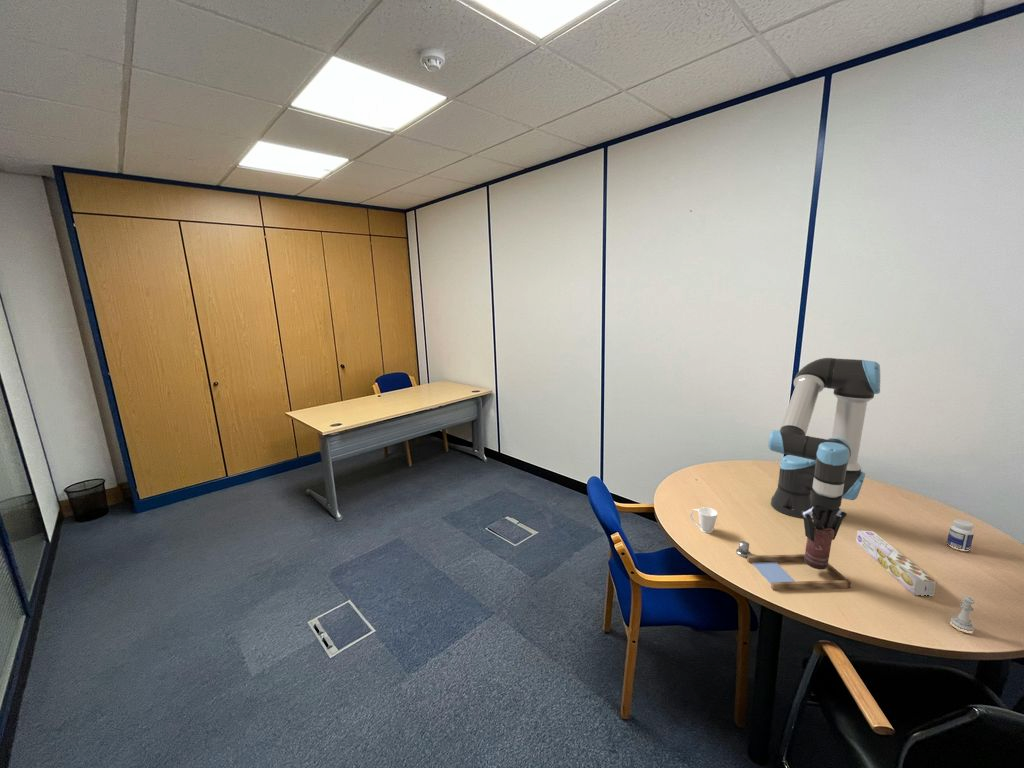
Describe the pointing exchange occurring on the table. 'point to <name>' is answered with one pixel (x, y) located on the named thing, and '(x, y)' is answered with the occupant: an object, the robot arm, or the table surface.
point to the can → (819, 548)
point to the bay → (838, 583)
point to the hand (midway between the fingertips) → (816, 557)
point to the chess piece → (964, 615)
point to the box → (896, 564)
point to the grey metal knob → (743, 549)
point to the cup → (705, 519)
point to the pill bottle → (961, 534)
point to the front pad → (772, 572)
